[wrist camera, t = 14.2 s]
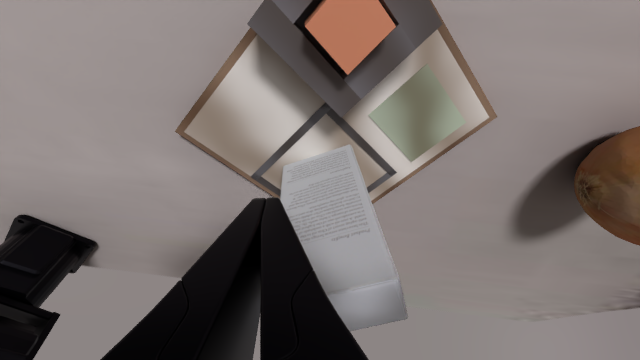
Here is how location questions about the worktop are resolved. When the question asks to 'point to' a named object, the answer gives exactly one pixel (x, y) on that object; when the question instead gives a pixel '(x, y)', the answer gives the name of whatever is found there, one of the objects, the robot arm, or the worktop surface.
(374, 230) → the skincare box
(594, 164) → the onion
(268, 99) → the square tray
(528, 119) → the worktop surface
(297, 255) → the robot arm
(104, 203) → the worktop surface
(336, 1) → the button
